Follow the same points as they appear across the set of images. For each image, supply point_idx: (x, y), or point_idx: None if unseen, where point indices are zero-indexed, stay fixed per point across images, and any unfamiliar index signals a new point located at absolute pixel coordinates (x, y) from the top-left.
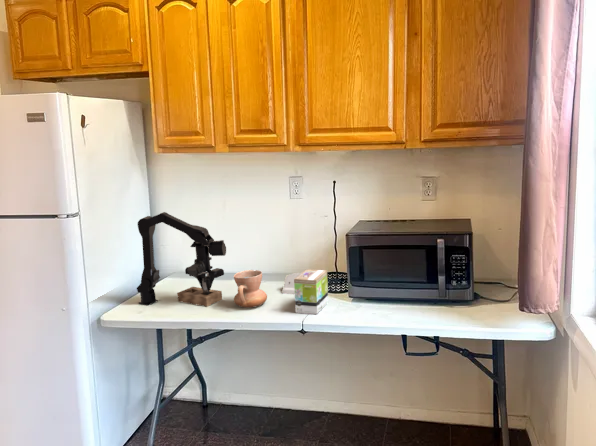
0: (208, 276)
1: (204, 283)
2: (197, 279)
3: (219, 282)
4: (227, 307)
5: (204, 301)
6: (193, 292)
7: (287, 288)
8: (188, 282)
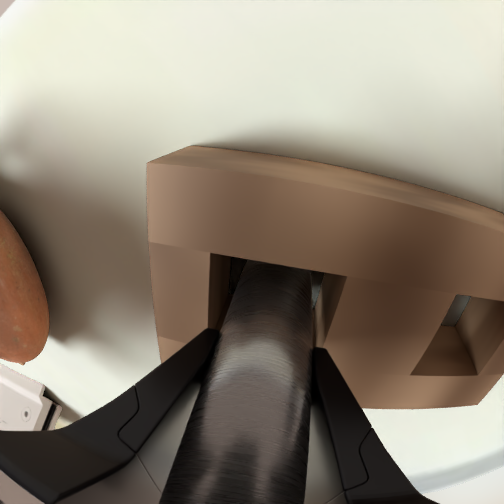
0: (22, 489)
1: (219, 410)
2: (405, 481)
3: None
4: (47, 187)
5: (206, 156)
6: (446, 307)
7: (32, 397)
8: (495, 437)
